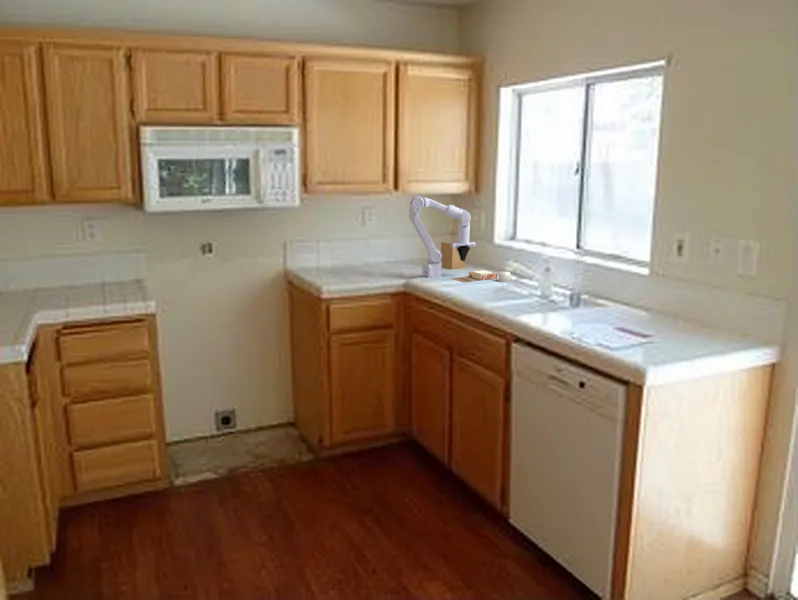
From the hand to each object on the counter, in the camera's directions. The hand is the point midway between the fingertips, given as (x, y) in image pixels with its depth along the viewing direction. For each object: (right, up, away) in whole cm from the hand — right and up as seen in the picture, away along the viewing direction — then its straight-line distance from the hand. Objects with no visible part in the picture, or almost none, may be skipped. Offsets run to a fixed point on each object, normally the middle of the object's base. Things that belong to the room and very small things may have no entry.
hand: (462, 260), depth 350 cm
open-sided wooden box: (+5, -11, -2) cm, 12 cm away
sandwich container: (-1, -2, +40) cm, 40 cm away
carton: (+10, -9, +1) cm, 13 cm away
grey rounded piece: (+20, -12, -7) cm, 25 cm away
